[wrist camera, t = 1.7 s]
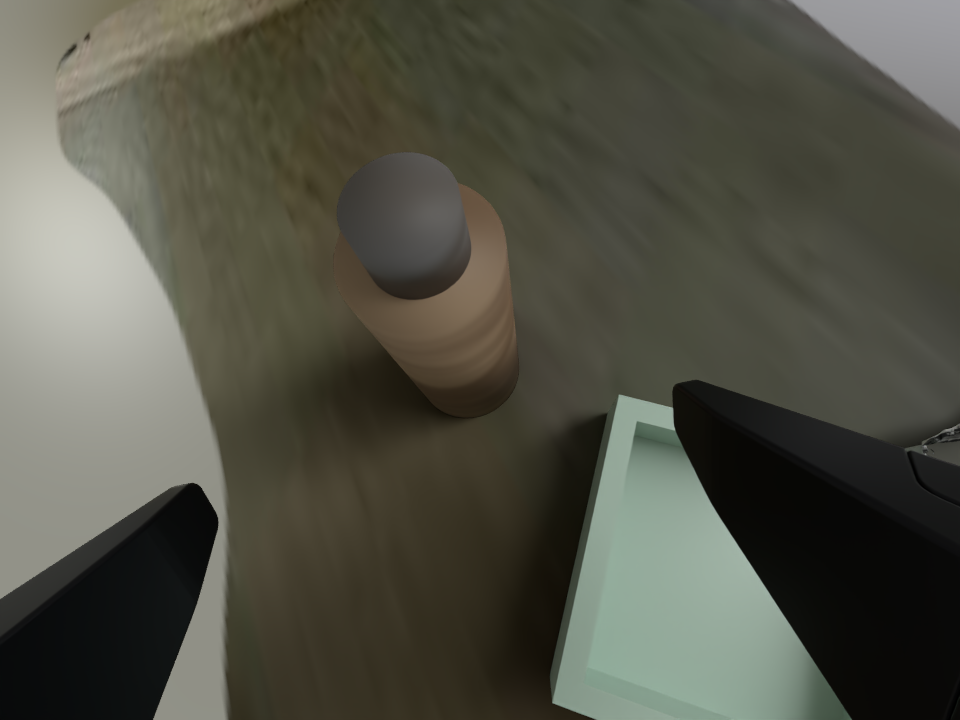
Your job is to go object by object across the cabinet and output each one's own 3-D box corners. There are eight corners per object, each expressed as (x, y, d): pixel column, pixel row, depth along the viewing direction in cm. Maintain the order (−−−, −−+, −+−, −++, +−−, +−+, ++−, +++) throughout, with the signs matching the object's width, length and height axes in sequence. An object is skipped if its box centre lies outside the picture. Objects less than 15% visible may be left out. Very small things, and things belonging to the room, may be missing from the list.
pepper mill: (503, 430, 21) (465, 318, 10) (405, 403, 22) (266, 272, 11) (530, 334, 22) (524, 137, 11) (436, 312, 23) (342, 109, 12)
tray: (854, 786, 16) (922, 843, 13) (549, 674, 18) (552, 702, 15) (872, 480, 19) (931, 471, 16) (607, 412, 21) (618, 394, 18)
